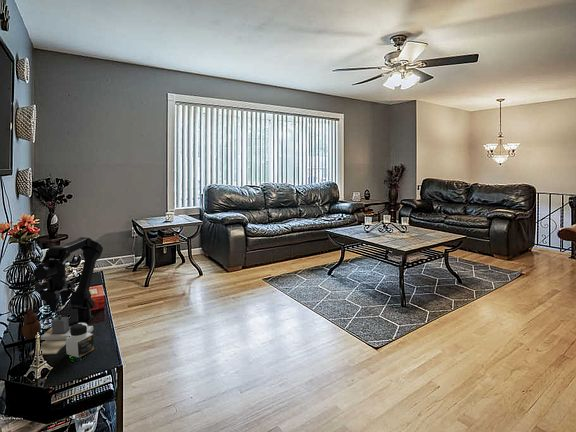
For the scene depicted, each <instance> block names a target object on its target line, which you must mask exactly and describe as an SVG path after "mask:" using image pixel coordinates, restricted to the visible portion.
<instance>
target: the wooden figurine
mask: <svg viewBox="0 0 576 432" xmlns="http://www.w3.org/2000/svg"><path fill="white" fill-rule="evenodd" d="M23 322H24V323H23V325H22V327H21V333H22V334H21V335H22V336H23V338H24V339H26V340H34V339H35V338H34V337H35V335H36V333H37V332H39V333H40V334H41V329H42V325H41V322H40V320H39V319H38V314H37V313H35V312H34V310H33V309H32V308H31V307H29V306H28V307H26V314H25V315H24V317H23Z"/></svg>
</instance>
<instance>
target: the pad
mask: <svg viewBox="0 0 576 432" xmlns="http://www.w3.org/2000/svg"><path fill="white" fill-rule="evenodd" d="M40 344H41V351H42V355H57V354H58V353H59V352H60V351H61V350H62V348H63V347H65V346H66V340H54V341H41V343H40ZM33 353H34V349H33V350H32V351H30V352H29V356H34V355H33Z"/></svg>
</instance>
